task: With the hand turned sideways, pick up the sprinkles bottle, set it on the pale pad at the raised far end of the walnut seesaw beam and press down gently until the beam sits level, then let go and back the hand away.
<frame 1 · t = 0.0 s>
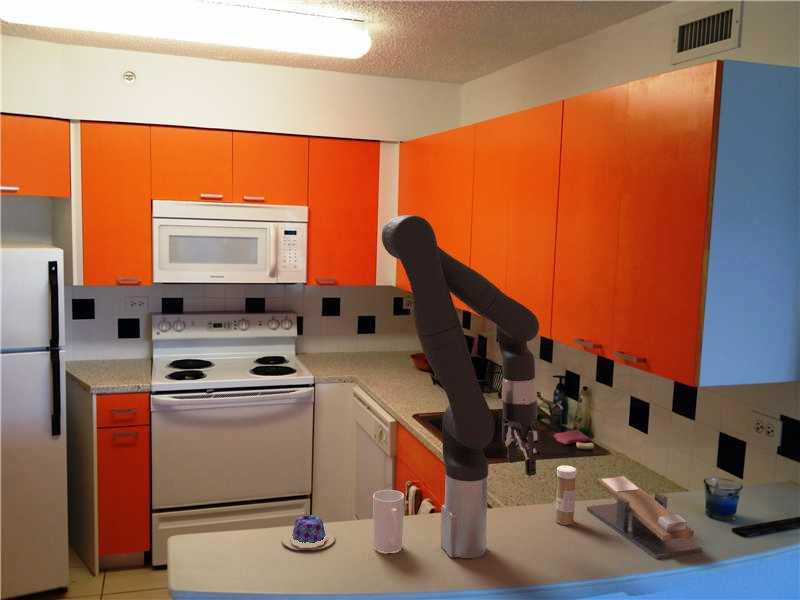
hand: (521, 468, 160), 17 cm above the countertop, tool pointing down, fingers open, 8 cm apart
sprinkles bottle: (564, 522, 174), on the countertop
balance beam: (642, 501, 169), point 7 cm above the countertop, hinge at 8.0°
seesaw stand: (640, 529, 170), on the countertop
pudding: (308, 542, 162), on the countertop
mug: (389, 552, 157), on the countertop
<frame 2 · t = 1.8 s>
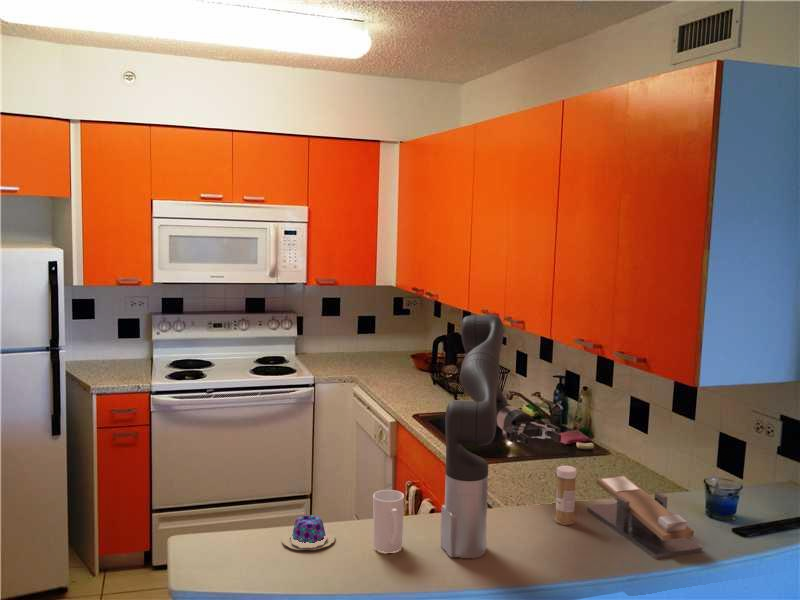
hand: (544, 440, 182), 17 cm above the countertop, tool horizontal, fingers open, 8 cm apart
nothing on the countertop moved.
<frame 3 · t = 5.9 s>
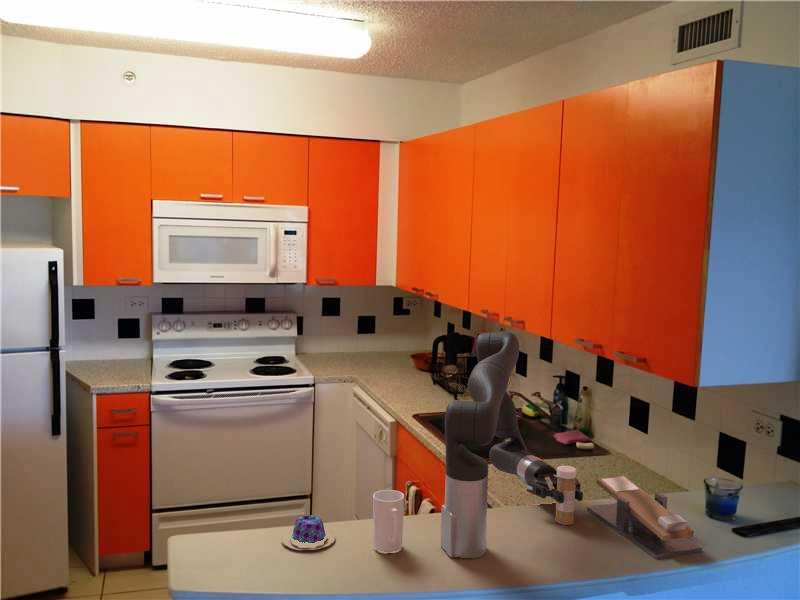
hand: (571, 498, 170), 7 cm above the countertop, tool horizontal, fingers closed on sprinkles bottle, 4 cm apart
sprinkles bottle: (564, 522, 174), on the countertop, touching gripper
everything else where it was.
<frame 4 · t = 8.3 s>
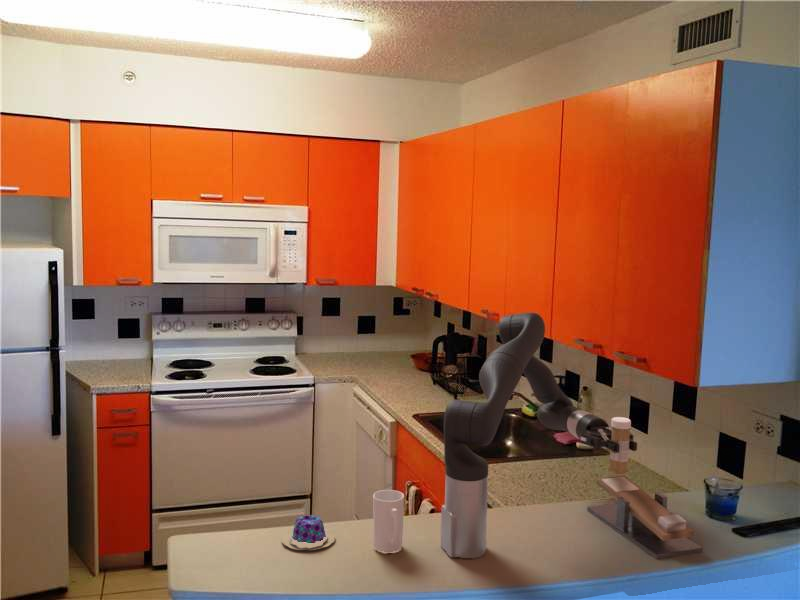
hand: (626, 447, 174), 18 cm above the countertop, tool horizontal, fingers closed on sprinkles bottle, 4 cm apart
sprinkles bottle: (618, 472, 177), point 11 cm above the countertop, touching gripper
everything else where it was.
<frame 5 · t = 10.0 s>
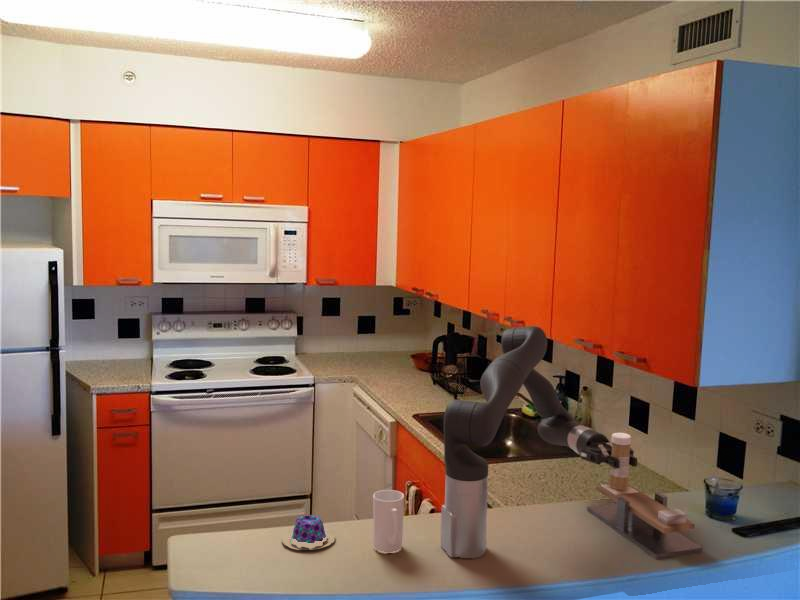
hand: (627, 463, 174), 14 cm above the countertop, tool horizontal, fingers closed on sprinkles bottle, 4 cm apart
sprinkles bottle: (618, 488, 178), point 7 cm above the countertop, touching balance beam, gripper
balance beam: (642, 501, 169), point 7 cm above the countertop, hinge at 0.5°, touching sprinkles bottle
everything else where it was.
when the fingers open (14 cm above the countertop, at t = 10.7 s): sprinkles bottle stays where it is, resting on balance beam.
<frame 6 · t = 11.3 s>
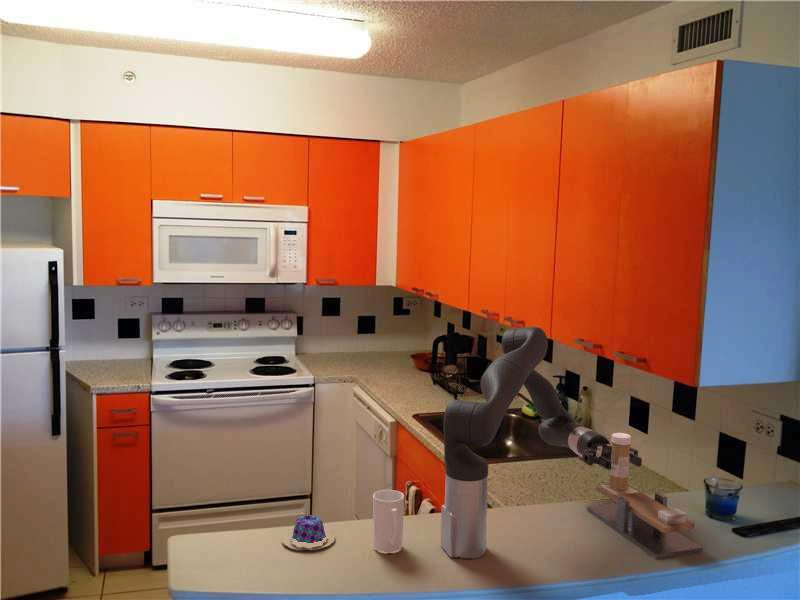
hand: (625, 464, 175), 14 cm above the countertop, tool horizontal, fingers open, 8 cm apart
sprinkles bottle: (618, 488, 178), point 7 cm above the countertop, touching balance beam
balance beam: (642, 501, 169), point 7 cm above the countertop, hinge at 0.1°, touching sprinkles bottle
everything else where it was.
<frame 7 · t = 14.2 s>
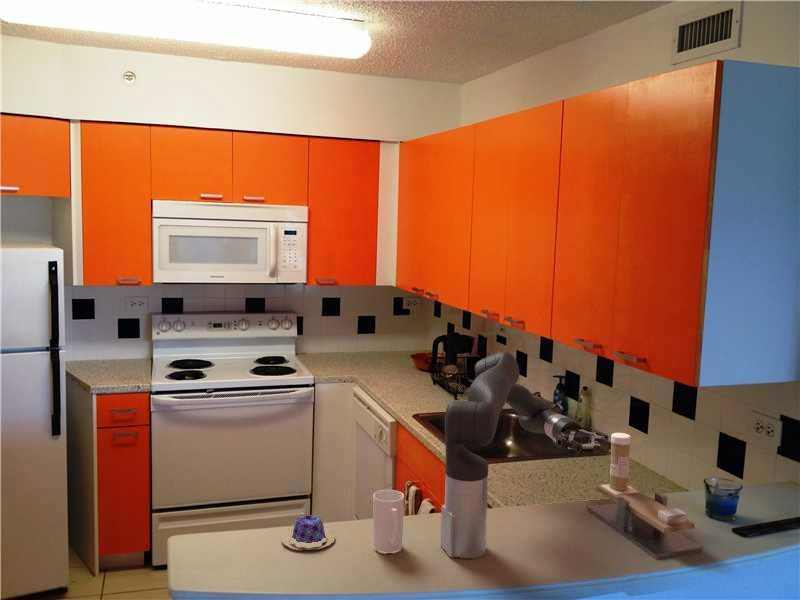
hand: (595, 447, 187), 14 cm above the countertop, tool horizontal, fingers open, 8 cm apart
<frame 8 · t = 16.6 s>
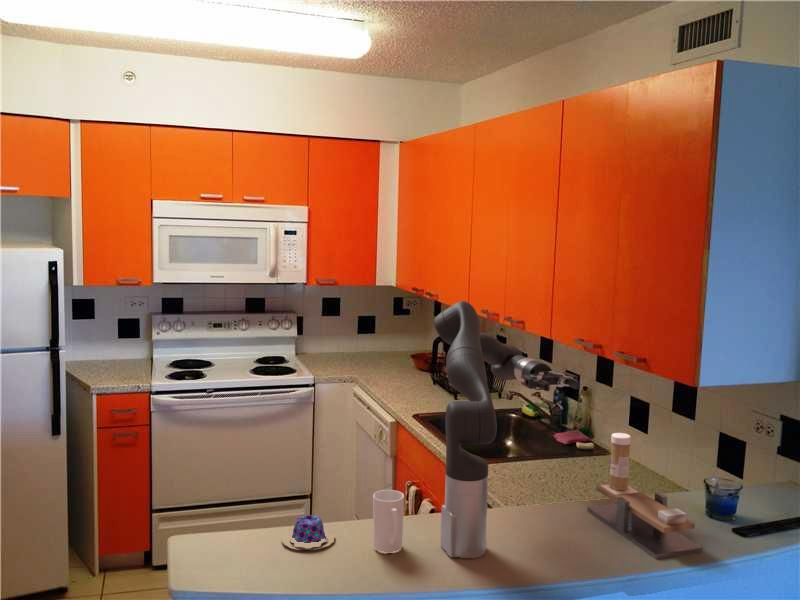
hand: (563, 386, 185), 30 cm above the countertop, tool horizontal, fingers open, 8 cm apart
at the end: balance beam at +0° (first picture: +8°); sprinkles bottle touching balance beam; sprinkles bottle tilted 0° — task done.
